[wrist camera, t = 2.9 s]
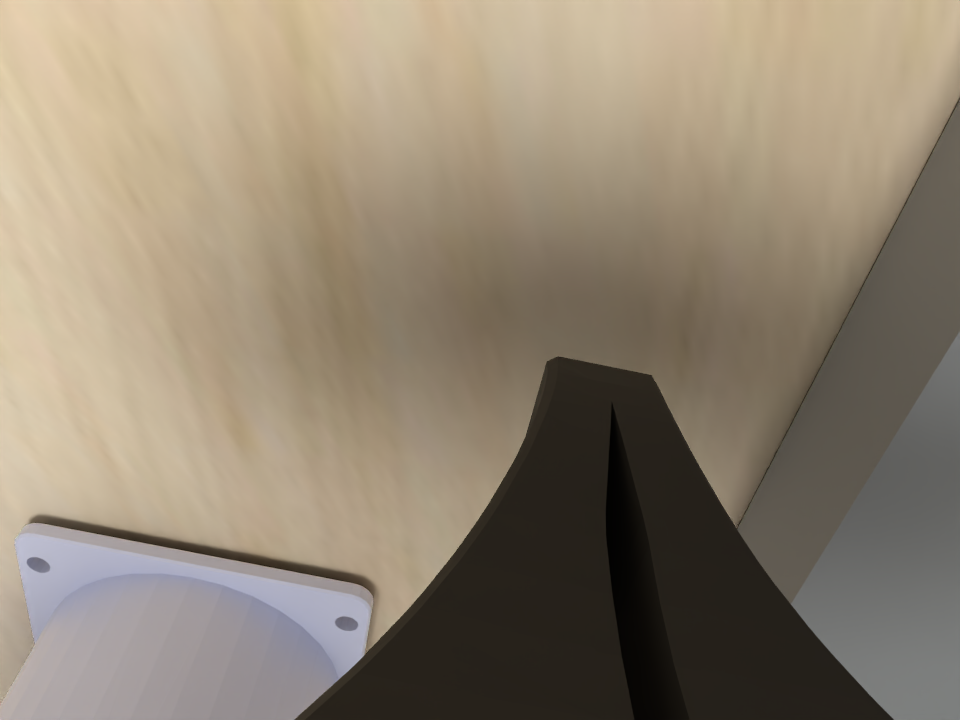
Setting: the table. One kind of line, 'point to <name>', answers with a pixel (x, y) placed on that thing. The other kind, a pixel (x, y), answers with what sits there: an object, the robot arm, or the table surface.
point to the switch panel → (882, 468)
